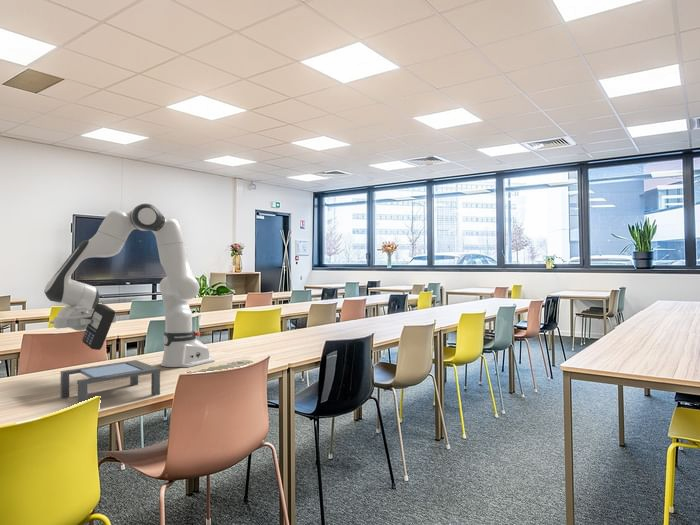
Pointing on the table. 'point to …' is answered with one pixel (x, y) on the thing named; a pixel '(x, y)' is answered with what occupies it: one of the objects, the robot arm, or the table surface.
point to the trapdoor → (108, 370)
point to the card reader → (98, 326)
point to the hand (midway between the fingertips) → (92, 321)
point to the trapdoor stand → (111, 378)
